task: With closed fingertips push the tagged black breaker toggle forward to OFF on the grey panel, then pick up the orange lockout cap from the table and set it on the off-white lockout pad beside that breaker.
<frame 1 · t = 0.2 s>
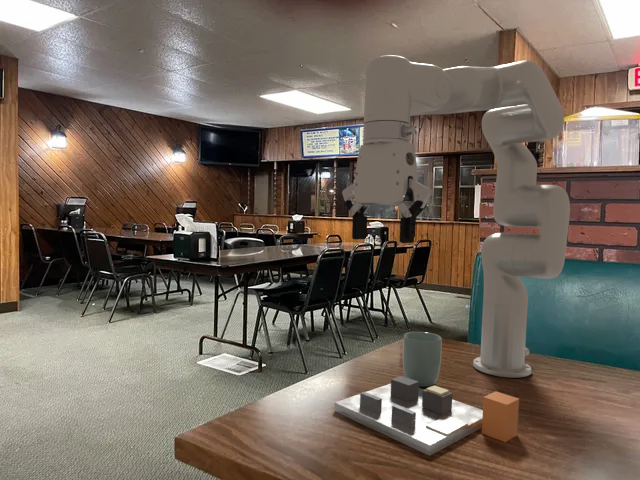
hand: (382, 240, 79), 31 cm above the table, fingers open, 9 cm apart
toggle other: (404, 388, 88), point 3 cm above the table, slide at 0.0 cm
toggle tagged: (437, 399, 83), point 3 cm above the table, slide at 0.0 cm
panel: (411, 416, 83), on the table
lockout cap: (499, 434, 78), on the table
cup: (420, 384, 100), on the table
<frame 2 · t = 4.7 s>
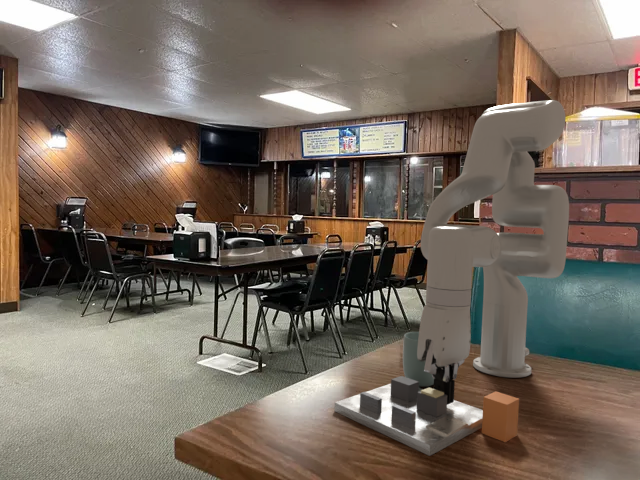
hand: (443, 401, 84), 3 cm above the table, fingers closed
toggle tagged: (431, 401, 82), point 3 cm above the table, slide at 1.6 cm, touching gripper
everything else where it was.
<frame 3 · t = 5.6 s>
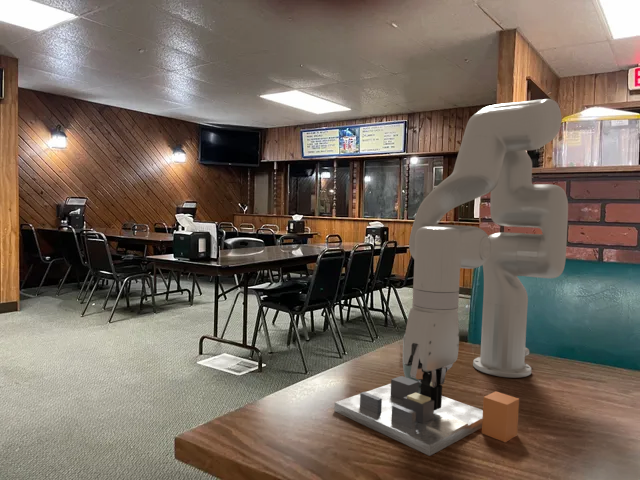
hand: (430, 406, 82), 3 cm above the table, fingers closed
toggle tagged: (418, 406, 79), point 3 cm above the table, slide at 5.4 cm, touching gripper
everything else where it was.
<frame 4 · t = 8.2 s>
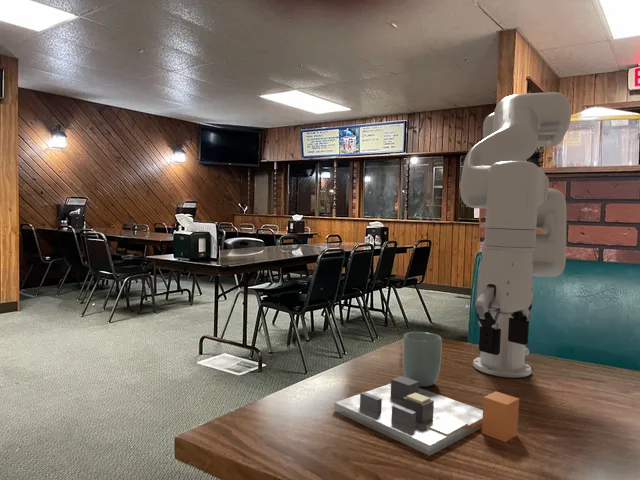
hand: (504, 347, 77), 14 cm above the table, fingers open, 9 cm apart
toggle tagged: (417, 407, 79), point 3 cm above the table, slide at 5.5 cm
everything else where it was.
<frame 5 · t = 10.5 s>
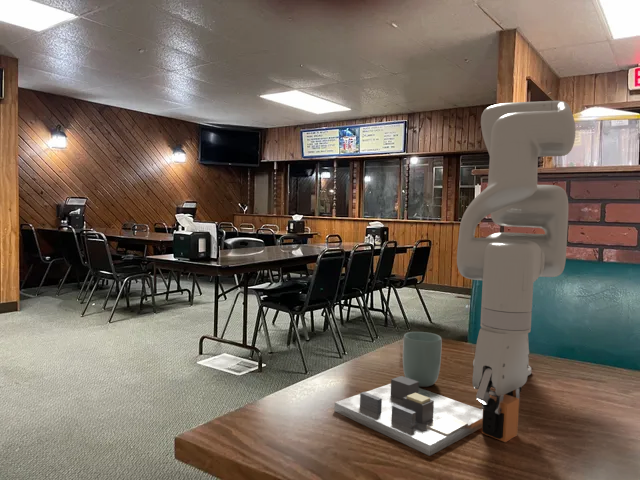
hand: (499, 430, 78), 1 cm above the table, fingers closed on lockout cap, 4 cm apart
lockout cap: (499, 433, 78), on the table, touching gripper
everything else where it was.
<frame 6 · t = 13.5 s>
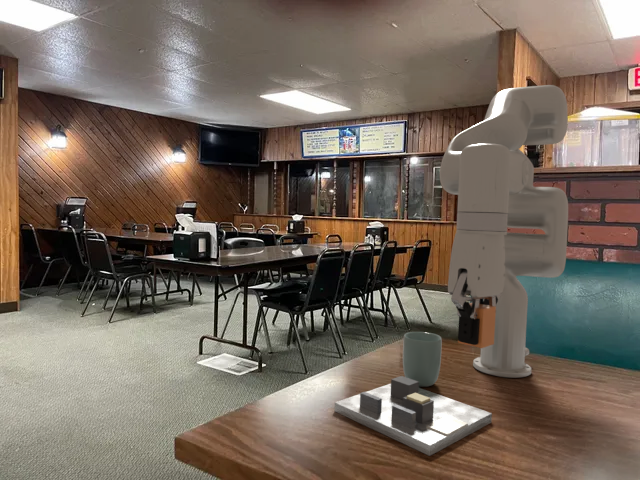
hand: (475, 339, 76), 16 cm above the table, fingers closed on lockout cap, 4 cm apart
lockout cap: (475, 343, 76), point 15 cm above the table, touching gripper
everything else where it was.
when the fingers open (4 cm above the table, at t = 16.3 s): lockout cap drops 1 cm, resting on panel.
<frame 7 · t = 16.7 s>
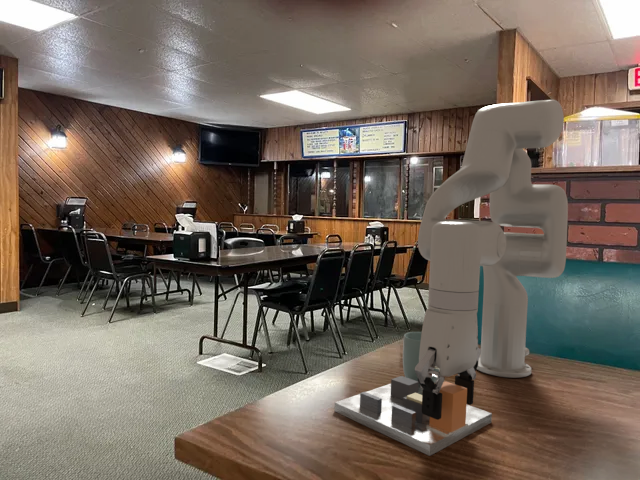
hand: (447, 408, 76), 4 cm above the table, fingers open, 8 cm apart
lockout cap: (447, 424, 76), point 2 cm above the table, touching panel
everything else where it was.
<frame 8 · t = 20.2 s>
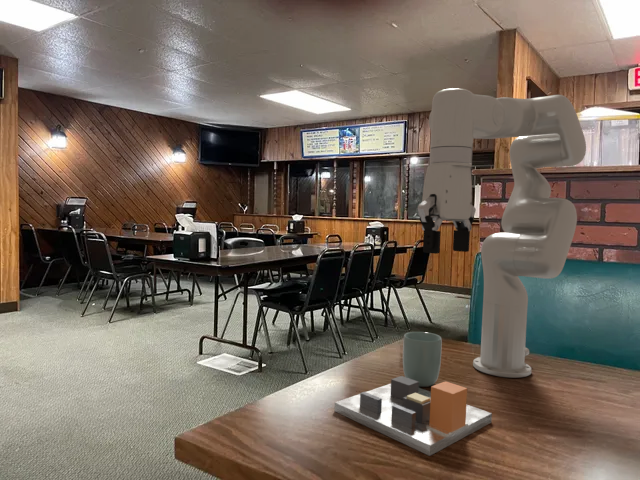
hand: (446, 252, 89), 28 cm above the table, fingers open, 9 cm apart
nothing on the table moved.
at the end: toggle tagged slide at 5.5 cm; lockout cap 0.0 cm from the target spot on the panel, point 1.9 cm above the panel's base; lockout cap tilted 0° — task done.
